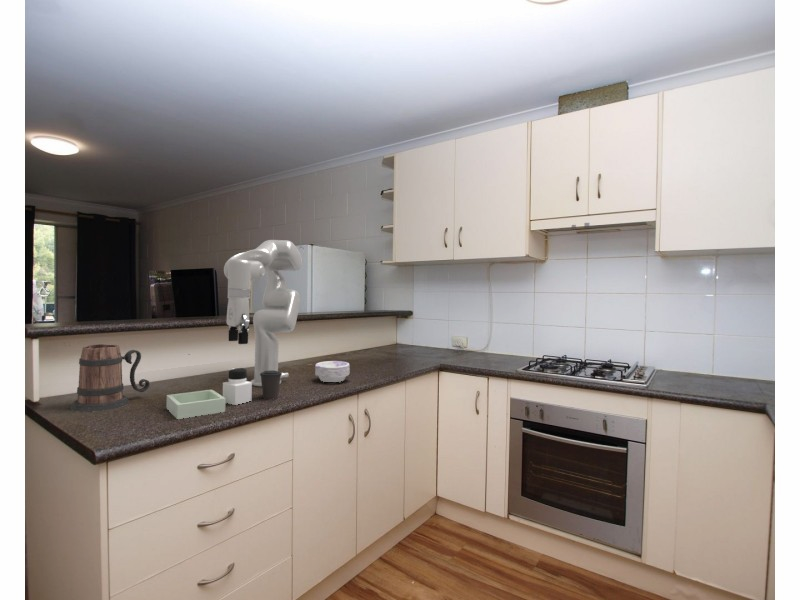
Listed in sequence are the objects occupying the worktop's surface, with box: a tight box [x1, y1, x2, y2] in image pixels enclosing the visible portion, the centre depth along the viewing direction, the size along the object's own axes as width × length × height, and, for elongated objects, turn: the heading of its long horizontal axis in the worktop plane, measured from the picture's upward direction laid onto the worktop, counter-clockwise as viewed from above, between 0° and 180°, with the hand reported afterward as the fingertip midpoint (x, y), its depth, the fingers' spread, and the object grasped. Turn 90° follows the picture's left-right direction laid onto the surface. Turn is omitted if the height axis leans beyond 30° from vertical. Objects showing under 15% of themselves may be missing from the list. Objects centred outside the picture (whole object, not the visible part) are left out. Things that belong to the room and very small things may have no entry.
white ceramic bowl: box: [314, 360, 351, 383], centre depth 191 cm, size 15×15×8 cm
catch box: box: [166, 389, 226, 420], centre depth 142 cm, size 14×14×4 cm
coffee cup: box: [260, 370, 283, 400], centre depth 160 cm, size 8×8×10 cm
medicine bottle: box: [222, 367, 253, 406], centre depth 153 cm, size 7×7×12 cm
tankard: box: [69, 343, 150, 413], centre depth 147 cm, size 24×17×20 cm
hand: (238, 342), depth 153 cm, fingers open, 9 cm apart
